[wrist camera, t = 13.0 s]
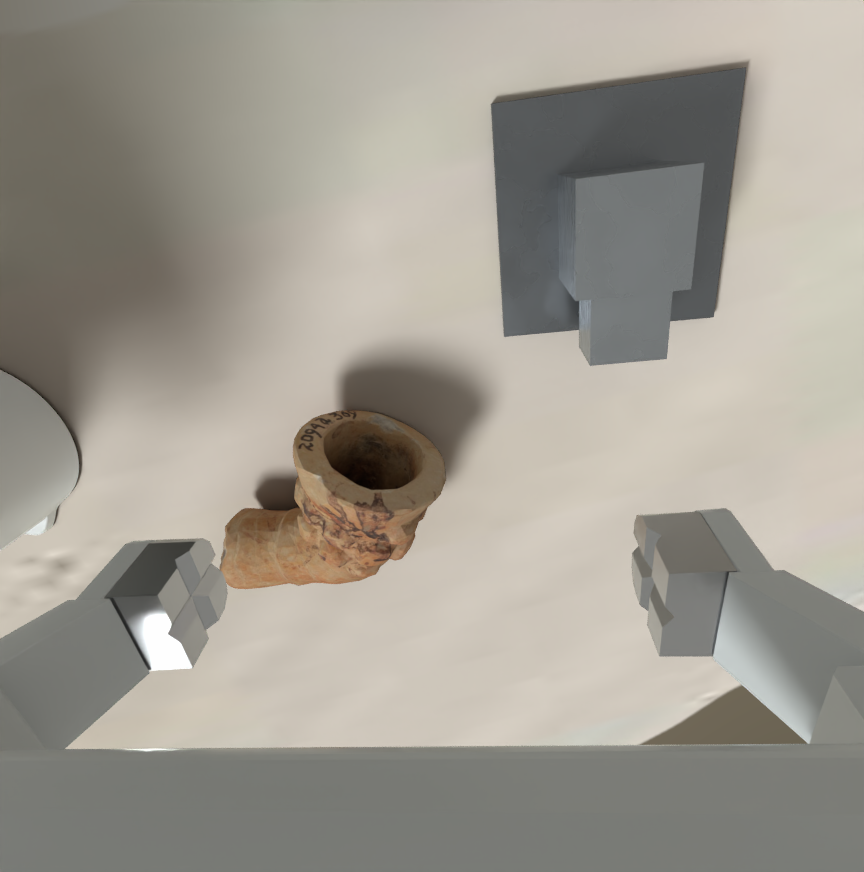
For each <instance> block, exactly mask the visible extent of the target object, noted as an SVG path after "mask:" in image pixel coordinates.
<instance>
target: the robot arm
mask: <svg viewBox="0 0 864 872" xmlns="http://www.w3.org/2000/svg"><path fill="white" fill-rule="evenodd" d="M78 474H79V460H78V454H77V450H76V447H75V444H74V441H73V439H72V437H71V434H70V433H69V431H68V429H67V427H66V426H65V424H64V422H63V421H62V420H61V418H60V417H59V416H58V414H57V413H56V412H55V411H54V409H53V408H52V407H51V406H50V405H49V404H48V403H47V402H46V401H45V400H44V399H43V398H42V397H41V396H40V395H39V394H37V393H36V392H35V391H34V390H33V389H31V388H30V387H29V386H27V385H26V384H24V383H23V382H21V381H20V380H18V379H17V378H15V377H13V376H11V375H10V374H8V373H6V372H4V371H2V370H0V551H2V550H3V549H4V548H6V547H7V546H8V545H10V544H11V543H13V542H14V541H15V540H17V539H18V538H20V537H21V536H22V535H24V534H29V535H41V534H43V533H44V532H46V531H47V530H49V529H50V528H51V527H52V526H53V524H54V521H55V516H56V510H57V507H58V506H59V505H60V503H61V502H62V501H64V500H65V499H66V498H67V497H68V496H69V494H70V493H71V492H72V490H73V489H74V487H75V485H76V482H77V479H78ZM634 535H635V538H636V540H637V543H638V545H639V546H638V547H637V548H636V549H635V550H634V552H633V553H632V576H633V584H634V588H635V592H636V596H637V598H638V601H639V604H640V605H641V606H642V607H643V608H645V609H646V610H647V611H648V622H647V626H648V628H649V631H650V633H651V636H652V639H653V641H654V644H655V646H656V649H657V652H658V654H659V656H713V660H715V661H716V662H717V663H718V664H719V665H720V666H721V667H722V668H724V669H725V670H726V671H727V672H728V673H729V674H730V675H731V676H733V677H734V678H735V679H736V680H737V681H738V682H739V683H741V684H742V685H743V686H744V687H745V688H746V689H747V690H748V691H750V692H751V693H752V694H753V695H754V696H755V697H756V698H757V699H759V700H760V701H761V702H762V703H763V704H764V705H765V706H766V707H768V708H769V709H770V710H771V711H772V712H773V713H774V714H776V715H777V716H778V717H779V718H780V719H781V720H782V721H784V722H785V723H786V724H787V725H788V726H789V727H790V728H791V729H793V730H794V731H795V732H796V733H797V734H798V735H799V736H800V737H802V738H803V739H804V740H805V741H806V742H807V743H808V744H746V745H745V744H743V745H742V744H739V745H738V744H729V745H583V746H447V747H310V748H174V749H65V748H66V747H67V746H68V745H70V744H71V743H72V742H73V741H74V740H75V739H76V738H77V737H79V736H80V735H81V734H82V733H83V732H84V731H85V730H86V729H88V728H89V727H90V726H91V725H92V724H93V723H94V722H95V721H96V720H98V719H99V718H100V717H101V716H102V715H103V714H104V713H105V712H107V711H108V710H109V709H110V708H111V707H112V706H113V705H114V704H115V703H117V702H118V701H119V700H120V699H121V698H122V697H123V696H124V695H126V694H127V693H128V692H129V691H130V690H131V689H132V688H133V687H134V686H136V685H137V684H138V683H139V682H140V681H141V680H142V679H143V678H145V677H146V676H147V675H148V674H149V671H151V670H169V669H187V668H193V667H194V665H195V663H196V661H197V659H198V658H199V656H200V654H201V652H202V650H203V648H204V647H205V645H206V643H207V641H208V639H209V638H208V635H207V631H206V629H208V628H209V627H210V626H212V625H213V624H214V623H216V622H217V621H218V620H219V619H220V617H221V615H222V613H223V611H224V609H225V605H226V599H227V585H226V580H225V577H224V575H223V572H222V571H220V570H219V569H218V568H217V567H215V566H214V565H213V564H212V562H213V559H214V557H215V555H216V554H215V552H214V550H213V548H212V546H211V543H210V541H207V540H205V539H203V538H200V539H168V540H146V541H133V542H130V543H127V544H125V545H124V546H123V547H122V548H121V550H120V551H119V552H118V553H117V554H116V555H115V556H114V557H113V559H112V560H111V561H110V562H109V563H108V564H107V565H106V566H105V567H104V569H103V570H102V571H101V572H100V573H99V574H98V575H97V576H96V578H95V579H94V580H93V581H92V582H91V583H90V584H89V585H88V587H87V588H86V589H85V590H84V591H83V592H82V593H81V594H80V595H79V597H78V598H77V599H76V600H68V601H66V602H64V603H62V604H61V605H59V606H57V607H55V608H54V609H52V610H50V611H48V612H47V613H45V614H43V615H41V616H39V617H38V618H36V619H34V620H32V621H31V622H29V623H27V624H25V625H24V626H22V627H20V628H18V629H17V630H15V631H13V632H11V633H10V634H8V635H6V636H4V637H3V638H1V639H0V872H864V612H863V611H861V610H859V609H857V608H855V607H853V606H852V605H850V604H848V603H846V602H844V601H842V600H840V599H838V598H836V597H834V596H832V595H830V594H829V593H827V592H825V591H823V590H821V589H819V588H817V587H815V586H813V585H811V584H809V583H808V582H806V581H804V580H802V579H800V578H798V577H796V576H794V575H792V574H790V573H788V572H786V571H785V570H777V571H775V570H774V569H773V568H772V566H771V565H770V564H769V562H768V561H767V560H766V558H765V557H764V556H763V554H762V553H761V552H760V550H759V549H758V547H757V546H756V545H755V543H754V542H753V541H752V539H751V538H750V537H749V535H748V534H747V533H746V531H745V530H744V529H743V527H742V526H741V525H740V523H739V522H738V520H737V519H736V518H735V516H734V515H733V514H732V512H731V511H729V510H727V509H726V508H722V509H710V510H698V511H695V512H681V513H664V514H647V515H637V516H636V519H635V524H634Z"/></svg>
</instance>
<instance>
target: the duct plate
mask: <svg viewBox="0 0 864 872" xmlns="http://www.w3.org/2000/svg"><path fill="white" fill-rule="evenodd" d="M745 73H746V68H739V69H732V70H725V71H718V72H711V73H704V74H697V75H690V76H683V77H676V78H669V79H662V80H655V81H648V82H641V83H634V84H627V85H620V86H613V87H606V88H599V89H592V90H585V91H578V92H571V93H564V94H557V95H550V96H543V97H536V98H529V99H522V100H515V101H508V102H501V103H494V104H491V114H492V132H493V150H494V168H495V185H496V203H497V221H498V239H499V257H500V275H501V293H502V310H503V328H504V337H507V336H517V335H528V334H539V333H550V332H560V331H571V330H579V301H575V300H574V299H573V297H572V296H571V294H570V293H569V292H568V290H567V289H566V287H565V286H564V284H563V283H562V282H561V280H560V279H559V219H558V175H560V174H567V173H575V172H583V171H590V170H598V169H606V168H613V167H621V166H629V165H637V164H644V163H652V162H660V161H677V162H701V163H704V171H703V181H702V190H701V200H700V210H699V219H698V229H697V238H696V248H695V257H694V267H693V277H692V286H691V289H690V290H680V291H673V293H672V305H671V316H670V321H678V320H689V319H699V318H710V317H714V310H715V303H716V295H717V287H718V280H719V272H720V264H721V257H722V249H723V241H724V234H725V226H726V218H727V211H728V203H729V196H730V188H731V180H732V173H733V165H734V157H735V150H736V142H737V134H738V127H739V119H740V111H741V104H742V96H743V88H744V81H745Z"/></svg>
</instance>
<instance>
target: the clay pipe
mask: <svg viewBox="0 0 864 872" xmlns="http://www.w3.org/2000/svg"><path fill="white" fill-rule="evenodd" d="M293 458H294V463H295V467H296V470H297V473H298V478H297V480H296V485H295V494H294V499H295V501H296V503H297V504H298V506H299V507H300V508H293V509H291V510H289V511H279V510H267V509H254V508H245V509H242V510H241V511H240V512H238V513H237V514H236V515H235V516H234V517H233V518H232V519H231V520H230V521H229V523H228V524H227V525H226V526H225V532H226V537H225V539H224V548H223V553H222V556H221V564H220V571H222V572H223V575H224V577H225V580H226V583H227V584H228V585H229V586H231V587H233V588H237V589H252V588H262V587H269V586H275V585H281V584H287V583H291V584H295V585H304V584H309V583H328V584H341V583H347V582H354V581H360V580H362V579H365V578H367V577H369V576H372V575H375V574H376V573H377V572H378V570H379V568H380V566H382V565H383V564H384V563H386V562H387V561H388V560H389V559H392V560H399V559H402V557H403V556H404V555H405V554H406V553H407V551H408V550H409V549H410V547H411V545H412V543H413V540H414V538H415V531H416V528H417V525H418V522H419V521H420V520H422V519H423V517H424V515H425V512H426V510H427V507H428V506H429V505H431V504H432V503H433V502H434V501H435V500H436V499H437V498H438V496H439V495H440V494H441V491H442V489H443V486H444V484H445V481H446V475H445V463H444V460H443V458H442V456H441V454H440V452H439V451H438V450H437V449H436V447H435V446H434V445H433V444H432V442H431V441H430V440H429V439H427V438H426V437H425V436H423V435H422V434H421V433H419V432H418V431H416V430H415V429H413V428H411V427H410V426H408V425H406V424H404V423H402V422H400V421H397V420H395V419H393V418H391V417H388V416H385V415H382V414H380V413H374V412H368V411H356V410H344V411H336V412H332V413H328V414H324V415H320V416H318V417H315V418H313V419H312V420H310V421H309V422H308V423H306V424H305V425H304V426H302V427H301V429H300V430H299V432H298V433H297V435H296V437H295V439H294V444H293Z"/></svg>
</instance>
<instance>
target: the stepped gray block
mask: <svg viewBox="0 0 864 872" xmlns="http://www.w3.org/2000/svg"><path fill="white" fill-rule="evenodd" d="M703 171H704V163H701V162H677V161H660V162H652V163H644V164H637V165H629V166H621V167H613V168H606V169H598V170H590V171H583V172H575V173H567V174H560V175H558V219H559V279H560V280H561V282H562V283H563V284H564V286H565V287H566V289H567V290H568V292H569V293H570V294H571V296H572V297H573V299H574V300H575V301H579V347H580V349H581V351H582V353H583V354H584V356H585V358H586V360H587V361H588V363H589V365H590V366H592V365H604V364H615V363H626V362H637V361H648V360H660V359H667V350H668V339H669V327H670V316H671V305H672V293H673V291H680V290H690V289H691V286H692V277H693V267H694V257H695V248H696V238H697V229H698V219H699V210H700V200H701V190H702V181H703Z"/></svg>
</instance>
